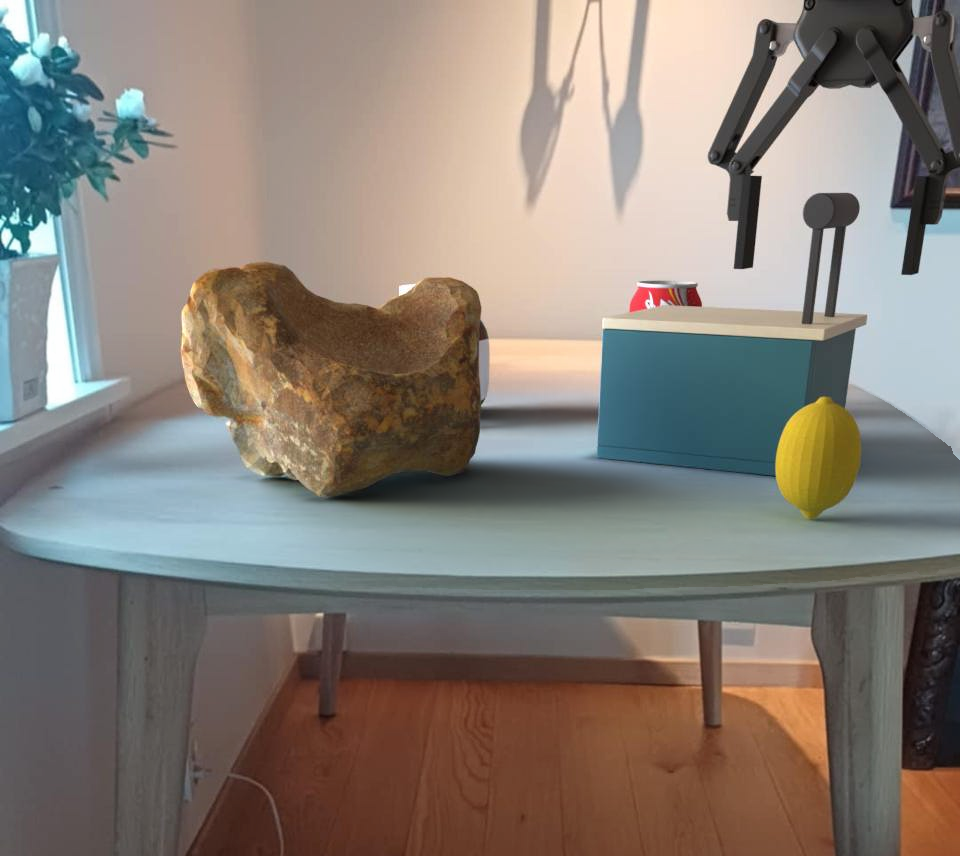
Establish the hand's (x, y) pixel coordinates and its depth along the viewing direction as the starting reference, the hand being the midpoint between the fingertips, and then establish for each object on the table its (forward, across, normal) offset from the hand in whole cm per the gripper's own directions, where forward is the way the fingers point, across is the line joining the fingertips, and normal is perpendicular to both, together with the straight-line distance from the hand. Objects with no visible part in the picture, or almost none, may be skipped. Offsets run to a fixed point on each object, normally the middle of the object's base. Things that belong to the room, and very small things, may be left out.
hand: (824, 271), depth 97 cm
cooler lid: (+4, -7, 0) cm, 8 cm away
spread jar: (+15, -37, +4) cm, 40 cm away
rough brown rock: (+15, -28, -25) cm, 40 cm away
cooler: (+14, -7, 0) cm, 16 cm away
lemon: (+15, +6, -20) cm, 25 cm away
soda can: (+15, -19, +17) cm, 29 cm away
